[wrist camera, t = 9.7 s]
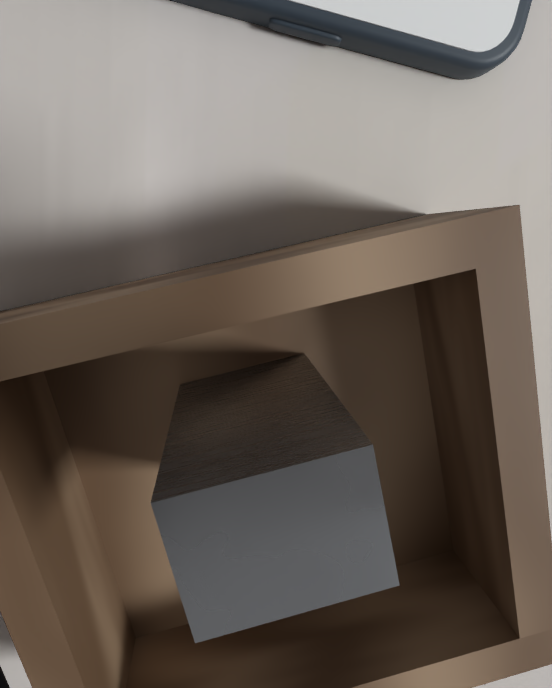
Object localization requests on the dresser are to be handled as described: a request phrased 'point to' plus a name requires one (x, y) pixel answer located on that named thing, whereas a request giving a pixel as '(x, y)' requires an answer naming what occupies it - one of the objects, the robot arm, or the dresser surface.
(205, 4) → the phone case
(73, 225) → the dresser surface
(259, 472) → the grey block
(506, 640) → the open wooden box
